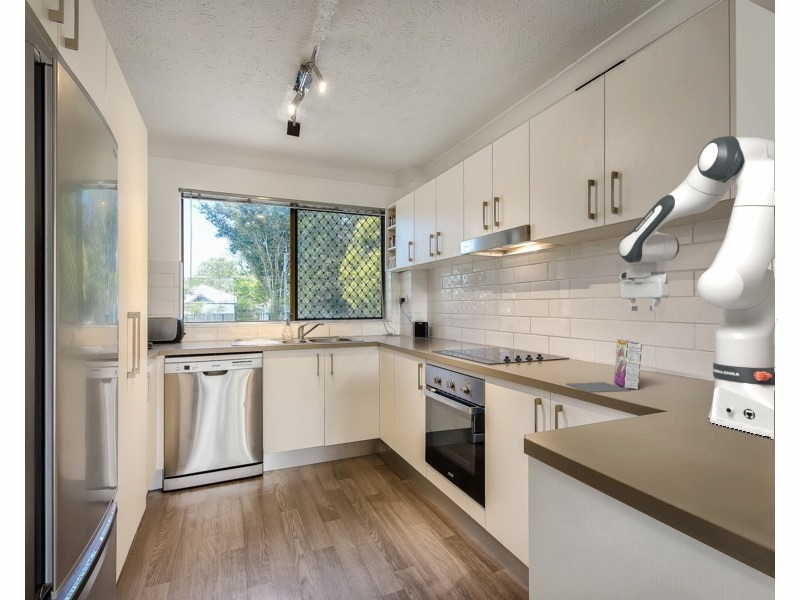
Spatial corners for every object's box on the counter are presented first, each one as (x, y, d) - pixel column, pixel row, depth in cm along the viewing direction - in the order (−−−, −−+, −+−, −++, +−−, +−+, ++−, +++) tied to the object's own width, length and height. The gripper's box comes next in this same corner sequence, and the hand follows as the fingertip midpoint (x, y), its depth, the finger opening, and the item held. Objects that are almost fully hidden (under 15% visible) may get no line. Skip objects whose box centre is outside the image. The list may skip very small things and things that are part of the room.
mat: (630, 390, 135) (630, 389, 135) (589, 392, 133) (589, 391, 133) (603, 383, 149) (603, 382, 149) (565, 384, 146) (565, 383, 146)
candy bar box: (612, 382, 148) (616, 338, 149) (627, 384, 147) (631, 340, 147) (623, 388, 138) (627, 341, 138) (638, 390, 136) (643, 342, 137)
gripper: (674, 270, 135) (675, 311, 135) (630, 275, 155) (631, 310, 155) (658, 270, 134) (658, 311, 134) (616, 275, 154) (616, 310, 154)
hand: (643, 310), depth 144 cm, fingers open, 8 cm apart
